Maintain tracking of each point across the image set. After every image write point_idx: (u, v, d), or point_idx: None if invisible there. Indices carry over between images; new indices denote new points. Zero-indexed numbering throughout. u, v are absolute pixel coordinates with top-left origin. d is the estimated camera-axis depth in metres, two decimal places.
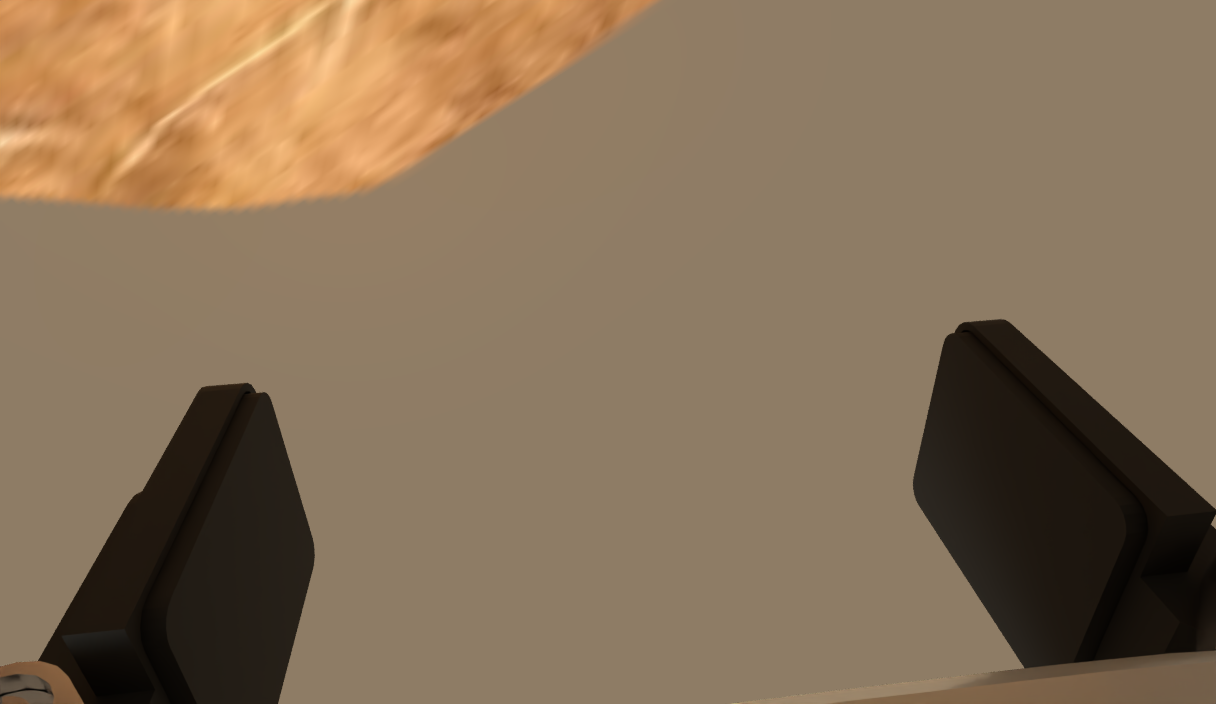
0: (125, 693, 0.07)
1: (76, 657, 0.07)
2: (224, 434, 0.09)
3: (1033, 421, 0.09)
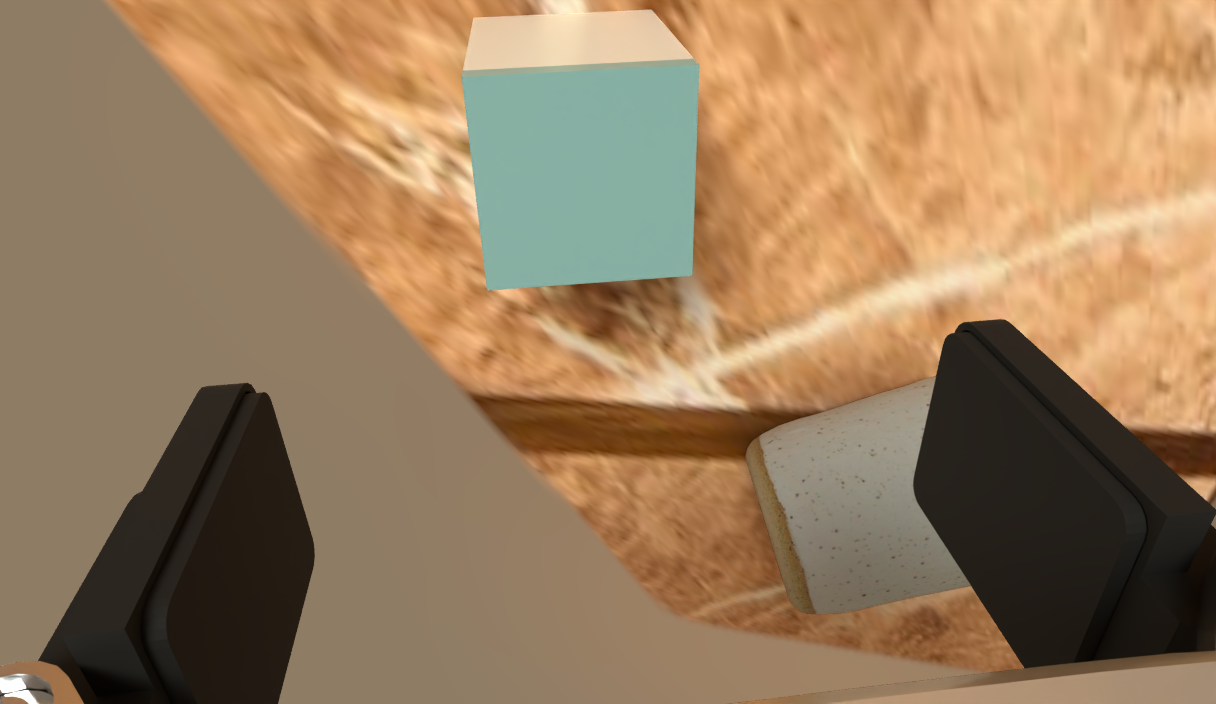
0: (125, 693, 0.07)
1: (76, 657, 0.07)
2: (224, 434, 0.09)
3: (1034, 421, 0.09)
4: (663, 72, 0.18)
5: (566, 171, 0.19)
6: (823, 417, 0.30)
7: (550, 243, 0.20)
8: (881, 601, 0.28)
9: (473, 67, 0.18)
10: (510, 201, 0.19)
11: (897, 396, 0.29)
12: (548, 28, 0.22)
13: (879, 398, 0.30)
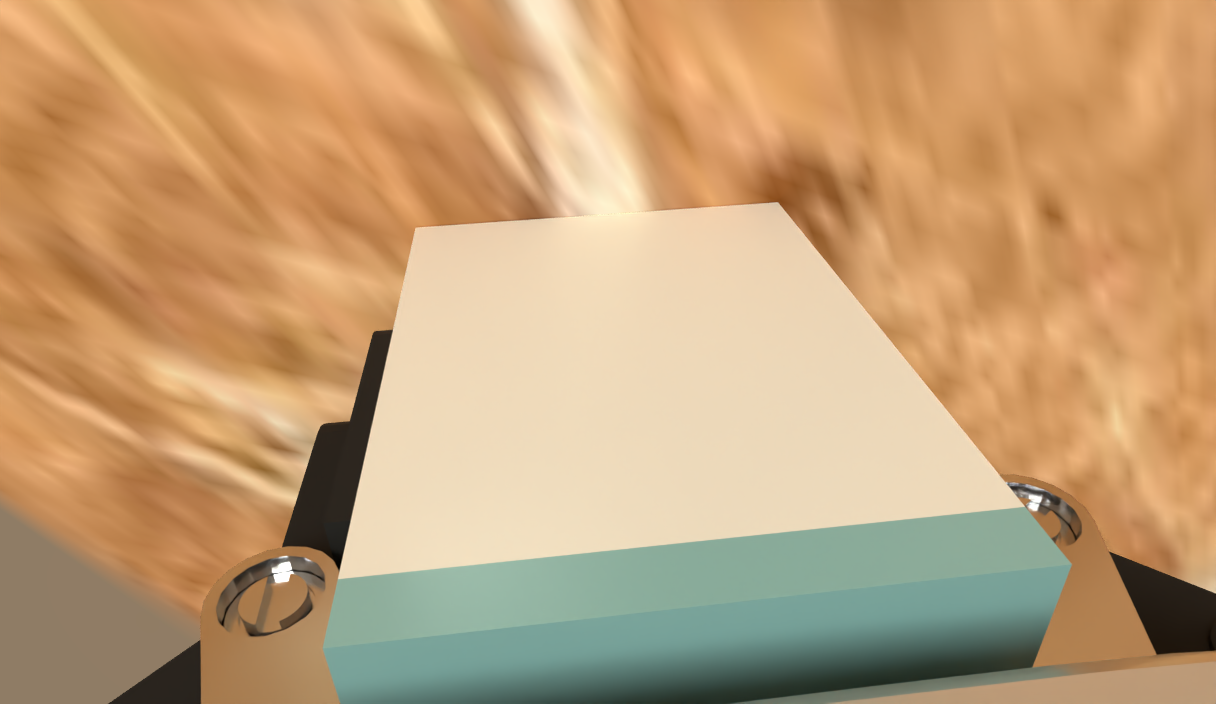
0: None
1: (332, 543, 0.08)
2: None
3: None
4: (959, 587, 0.06)
5: None
6: None
7: None
8: None
9: (372, 546, 0.06)
10: None
11: None
12: (576, 283, 0.10)
13: None
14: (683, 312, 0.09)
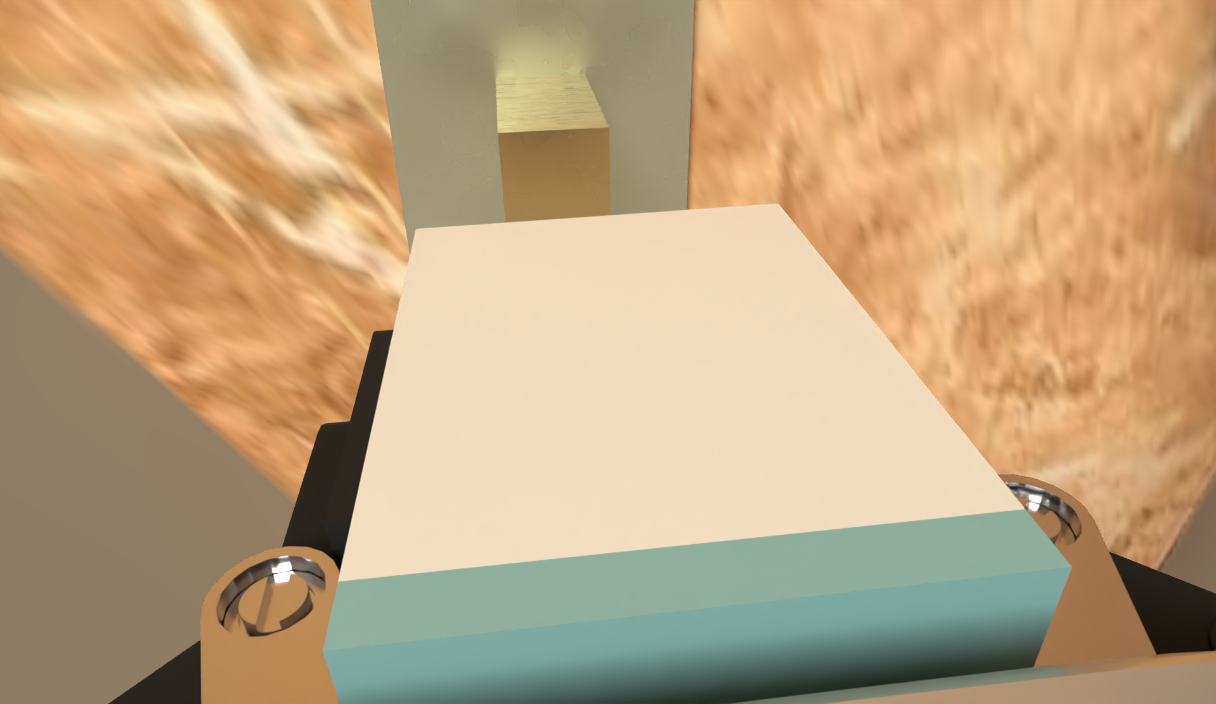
0: None
1: (332, 544, 0.08)
2: None
3: None
4: (960, 589, 0.06)
5: None
6: None
7: None
8: None
9: (373, 549, 0.06)
10: None
11: None
12: (576, 285, 0.10)
13: None
14: (683, 313, 0.09)
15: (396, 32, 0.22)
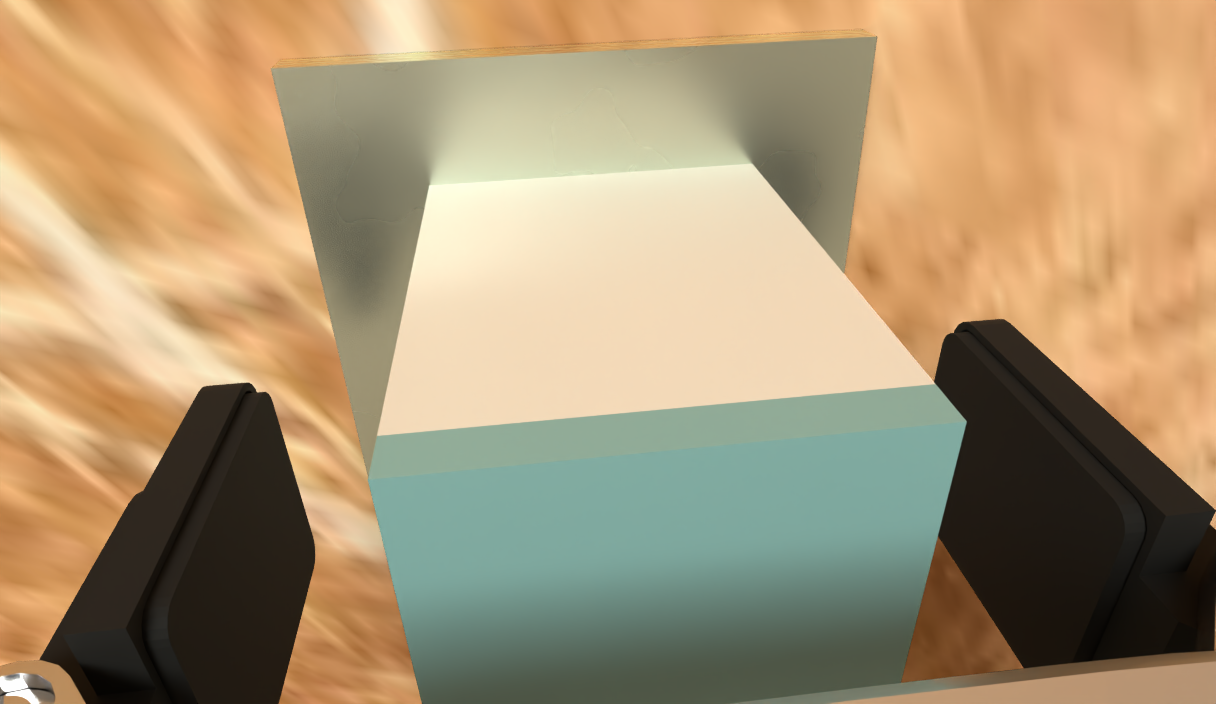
0: (127, 692, 0.07)
1: (78, 656, 0.07)
2: (225, 434, 0.09)
3: (1032, 421, 0.09)
4: (877, 440, 0.07)
5: (629, 631, 0.08)
6: None
7: None
8: None
9: (403, 414, 0.07)
10: (498, 688, 0.08)
11: None
12: (571, 228, 0.11)
13: None
14: (663, 248, 0.10)
15: (337, 189, 0.13)
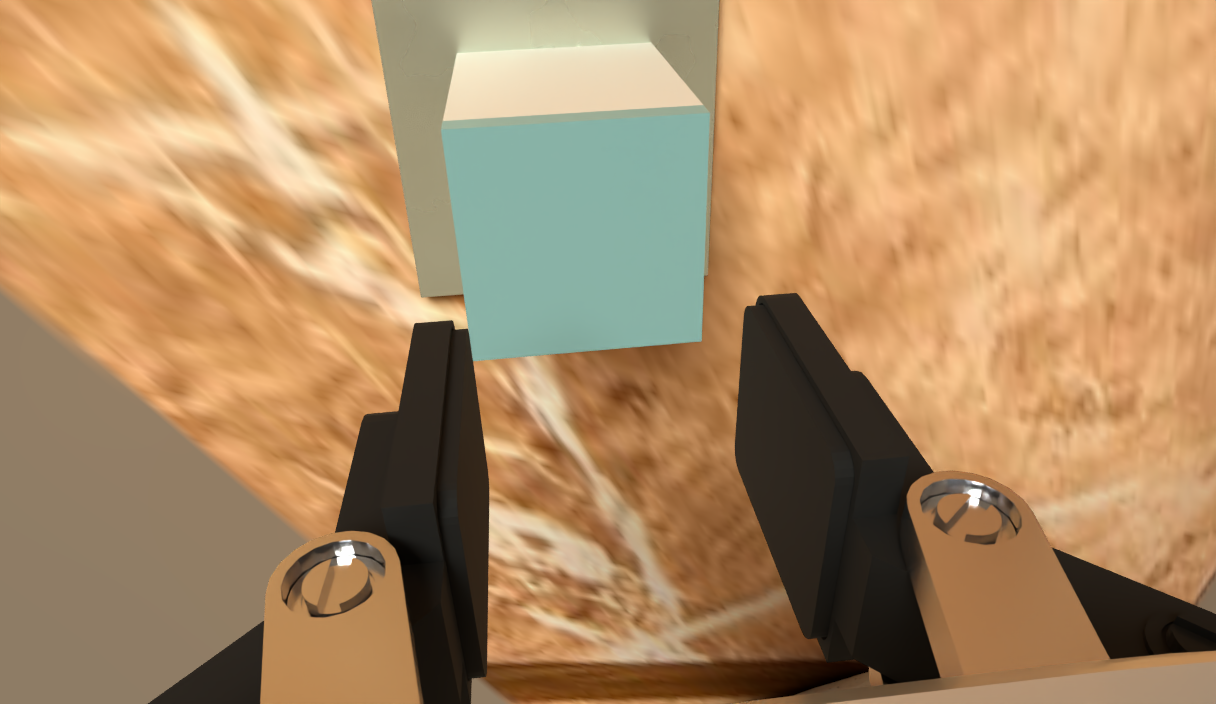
0: (420, 563, 0.08)
1: (389, 528, 0.08)
2: (449, 360, 0.10)
3: (790, 382, 0.10)
4: (669, 121, 0.16)
5: (561, 231, 0.17)
6: None
7: (543, 309, 0.18)
8: None
9: (454, 116, 0.16)
10: (498, 264, 0.17)
11: None
12: (539, 66, 0.20)
13: None
14: (588, 71, 0.19)
15: (402, 54, 0.21)
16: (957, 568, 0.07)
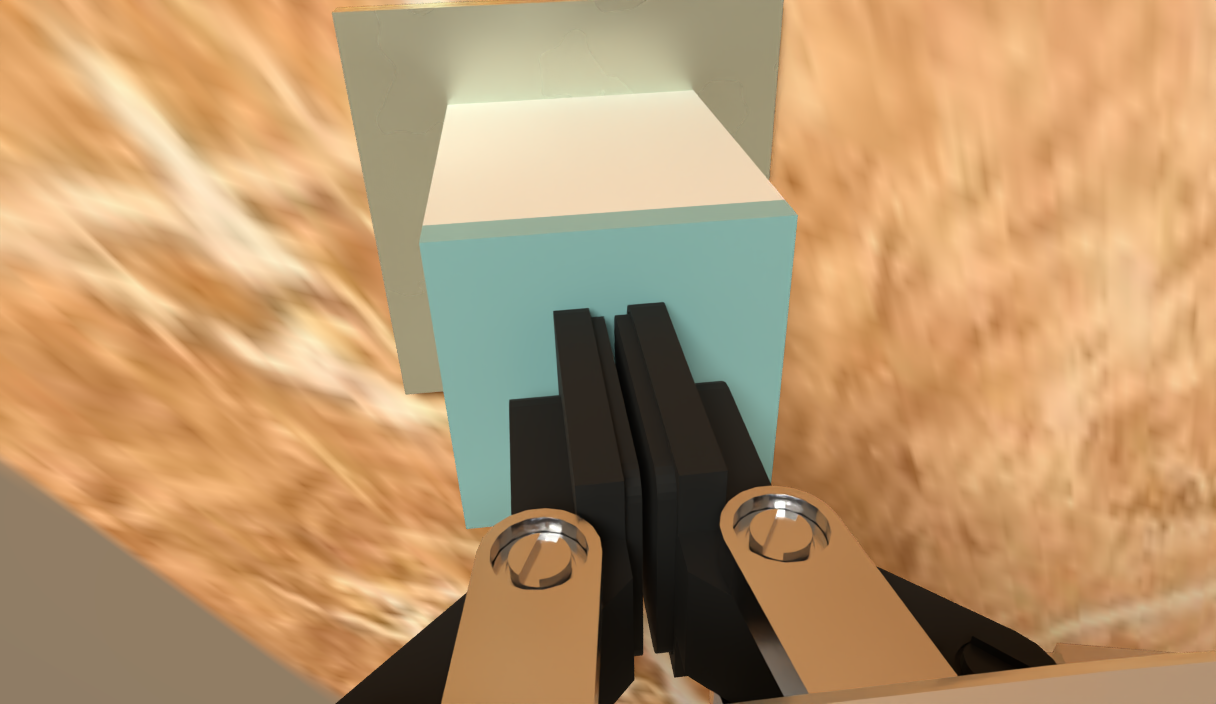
0: (604, 541, 0.08)
1: (580, 506, 0.08)
2: (597, 346, 0.11)
3: (637, 393, 0.10)
4: (740, 227, 0.11)
5: None
6: None
7: None
8: None
9: (438, 216, 0.12)
10: (499, 412, 0.12)
11: None
12: (553, 127, 0.15)
13: None
14: (618, 137, 0.15)
15: (378, 107, 0.17)
16: (785, 594, 0.07)
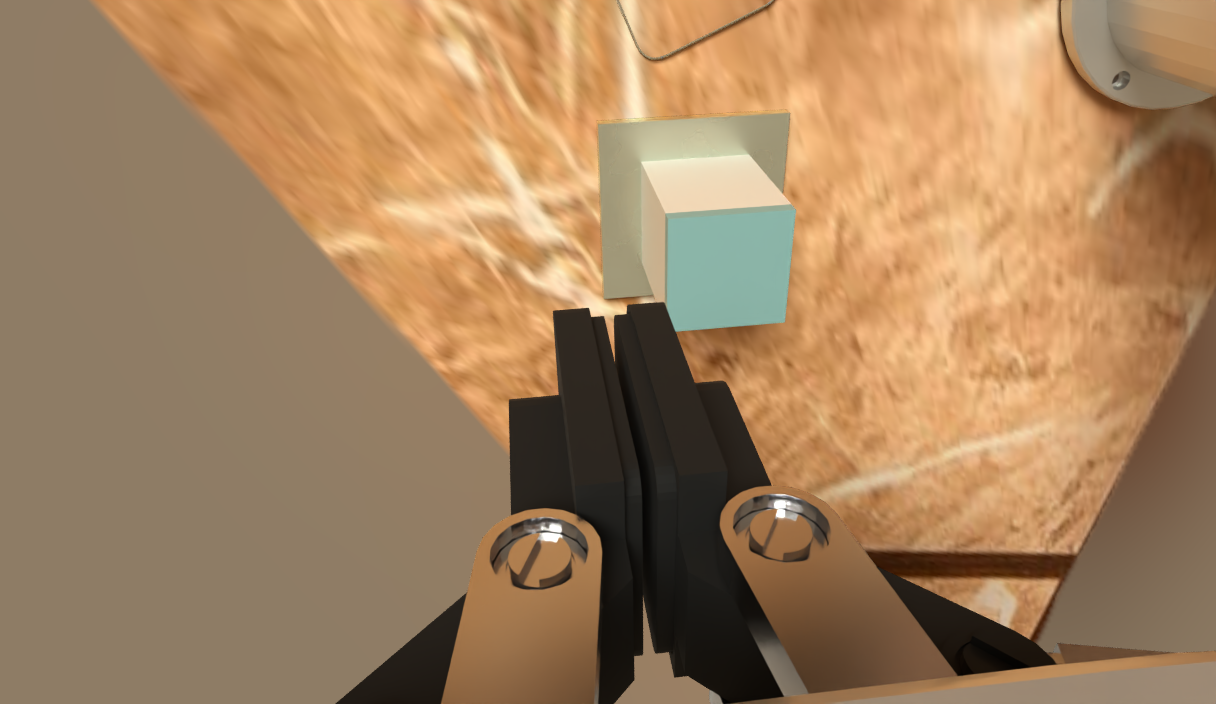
0: (604, 541, 0.08)
1: (580, 506, 0.08)
2: (597, 346, 0.11)
3: (637, 393, 0.10)
4: (776, 213, 0.32)
5: (719, 266, 0.33)
6: None
7: (705, 305, 0.34)
8: None
9: (669, 210, 0.33)
10: (686, 282, 0.34)
11: None
12: (693, 173, 0.36)
13: None
14: (723, 178, 0.36)
15: (611, 163, 0.38)
16: (785, 594, 0.07)
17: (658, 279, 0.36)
